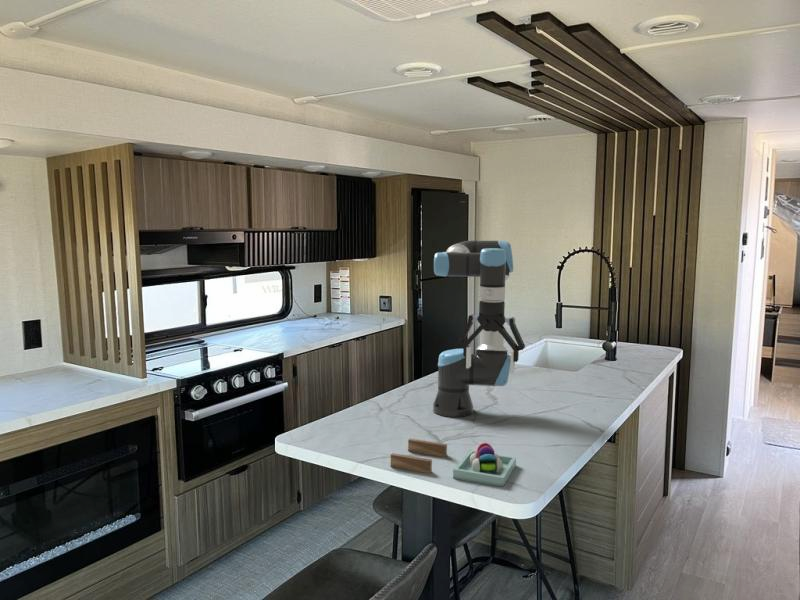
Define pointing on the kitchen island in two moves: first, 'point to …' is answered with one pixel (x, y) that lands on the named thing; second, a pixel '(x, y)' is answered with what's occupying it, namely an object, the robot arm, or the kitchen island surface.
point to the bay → (418, 462)
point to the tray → (484, 471)
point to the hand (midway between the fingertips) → (490, 369)
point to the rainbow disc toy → (485, 459)
